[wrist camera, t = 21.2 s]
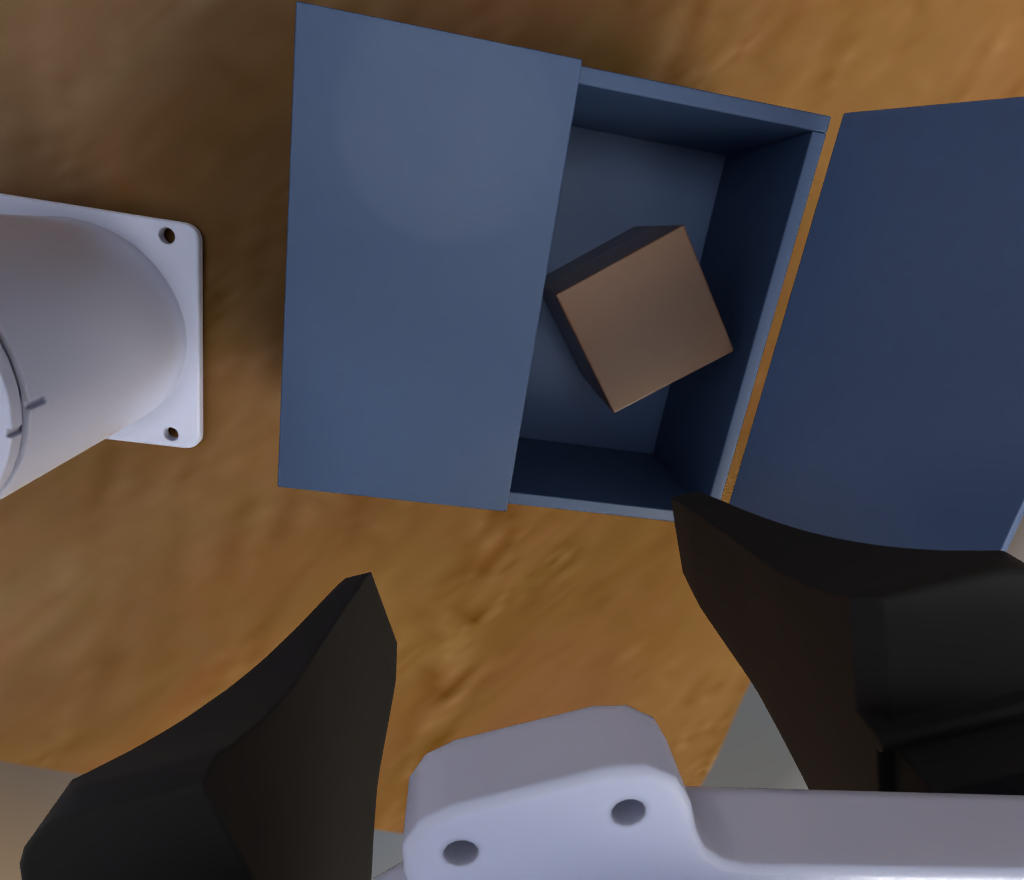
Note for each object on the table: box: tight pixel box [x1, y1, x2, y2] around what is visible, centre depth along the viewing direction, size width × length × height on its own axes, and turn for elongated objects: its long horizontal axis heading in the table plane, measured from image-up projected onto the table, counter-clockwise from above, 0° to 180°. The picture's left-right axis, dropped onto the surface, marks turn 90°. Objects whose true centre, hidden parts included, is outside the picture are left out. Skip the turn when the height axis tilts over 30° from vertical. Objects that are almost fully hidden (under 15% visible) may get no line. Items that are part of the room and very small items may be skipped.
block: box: [543, 225, 734, 413], centre depth 20 cm, size 4×4×5 cm
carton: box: [278, 1, 831, 522], centre depth 19 cm, size 13×12×7 cm
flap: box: [729, 97, 1024, 552], centre depth 14 cm, size 6×12×1 cm
